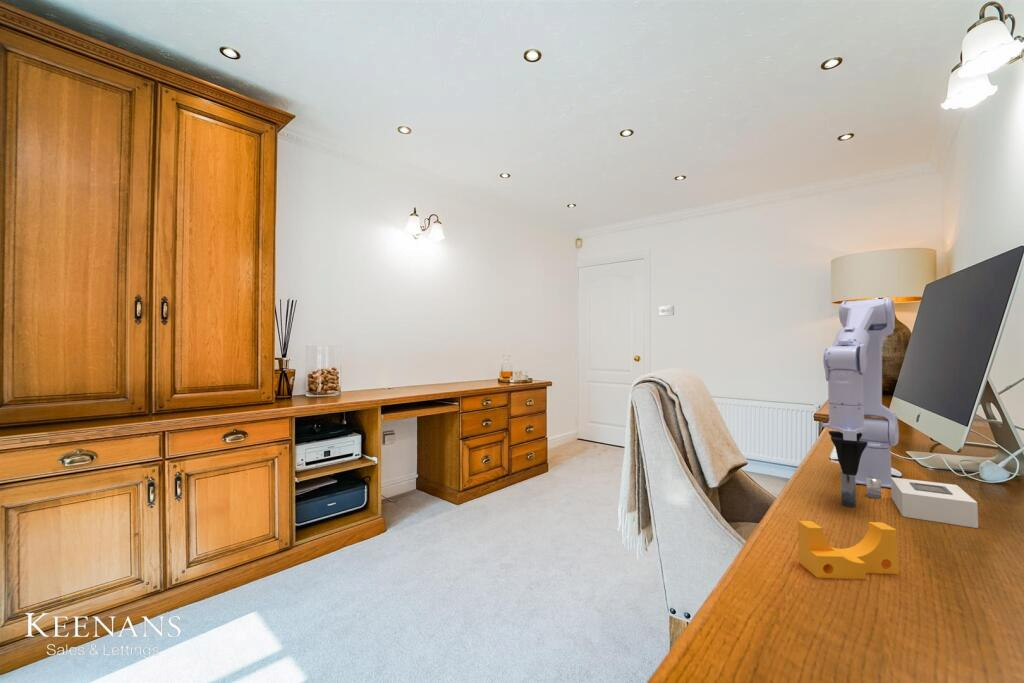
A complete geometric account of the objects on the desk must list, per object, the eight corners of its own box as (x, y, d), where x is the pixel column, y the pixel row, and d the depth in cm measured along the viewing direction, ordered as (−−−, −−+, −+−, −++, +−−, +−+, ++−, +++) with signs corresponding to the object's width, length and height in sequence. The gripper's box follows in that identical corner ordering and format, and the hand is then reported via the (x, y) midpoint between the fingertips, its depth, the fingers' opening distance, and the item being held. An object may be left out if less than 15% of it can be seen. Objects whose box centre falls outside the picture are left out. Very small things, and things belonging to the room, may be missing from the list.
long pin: (840, 502, 89) (840, 471, 89) (855, 504, 88) (854, 473, 88) (841, 505, 87) (840, 474, 87) (856, 508, 86) (855, 475, 86)
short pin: (866, 494, 94) (865, 476, 94) (880, 496, 92) (879, 478, 92) (867, 497, 92) (867, 479, 92) (882, 499, 90) (881, 480, 90)
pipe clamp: (817, 579, 60) (816, 532, 60) (799, 563, 64) (797, 520, 64) (908, 581, 59) (906, 534, 59) (883, 566, 63) (882, 522, 63)
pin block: (891, 498, 91) (890, 476, 91) (957, 507, 86) (956, 483, 86) (902, 516, 81) (902, 491, 81) (978, 528, 76) (977, 501, 76)
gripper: (820, 399, 96) (822, 459, 96) (823, 406, 84) (825, 475, 84) (860, 401, 92) (862, 464, 92) (869, 408, 80) (871, 481, 80)
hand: (847, 469), depth 88 cm, fingers open, 7 cm apart
